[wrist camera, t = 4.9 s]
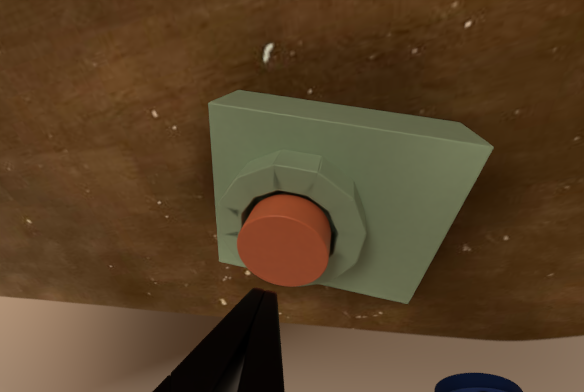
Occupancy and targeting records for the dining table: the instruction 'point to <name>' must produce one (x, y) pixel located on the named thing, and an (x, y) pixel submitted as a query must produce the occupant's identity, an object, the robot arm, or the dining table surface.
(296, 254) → the lid button
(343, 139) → the push button box
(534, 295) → the dining table surface
